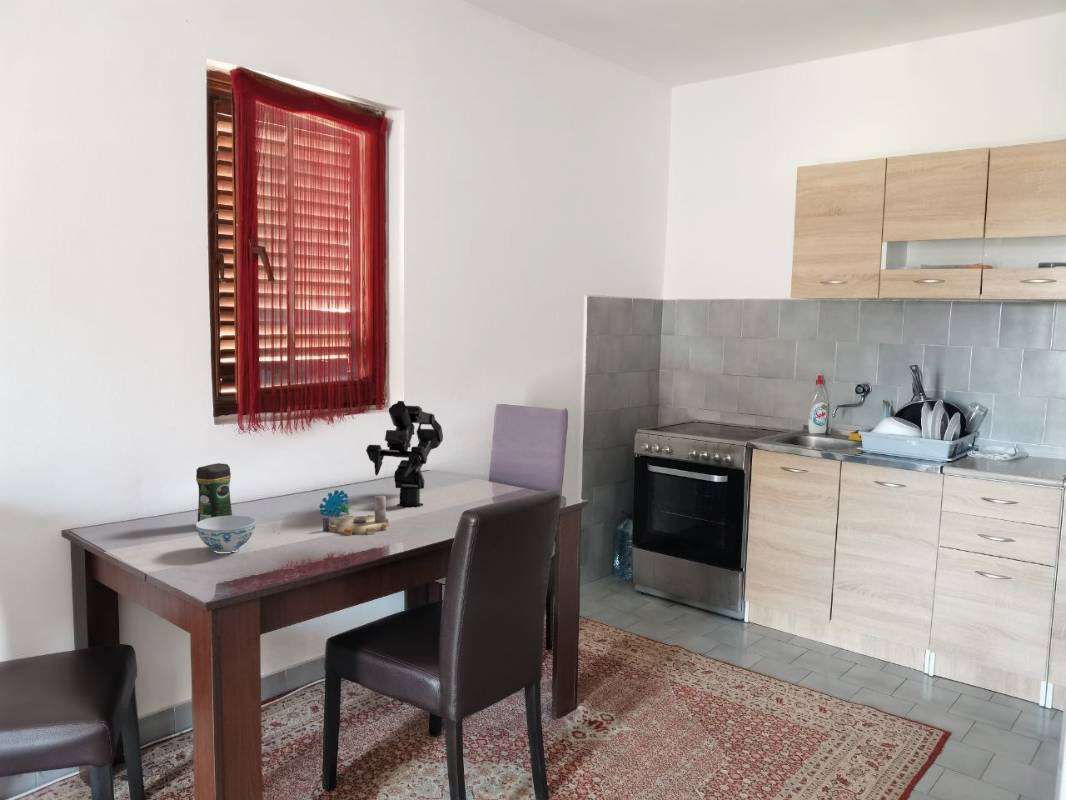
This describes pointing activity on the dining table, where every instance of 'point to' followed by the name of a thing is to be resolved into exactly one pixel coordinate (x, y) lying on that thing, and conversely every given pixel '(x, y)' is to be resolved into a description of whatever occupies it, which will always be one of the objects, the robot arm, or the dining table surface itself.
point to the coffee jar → (214, 491)
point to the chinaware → (226, 532)
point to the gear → (335, 504)
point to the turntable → (363, 521)
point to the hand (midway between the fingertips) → (390, 475)
